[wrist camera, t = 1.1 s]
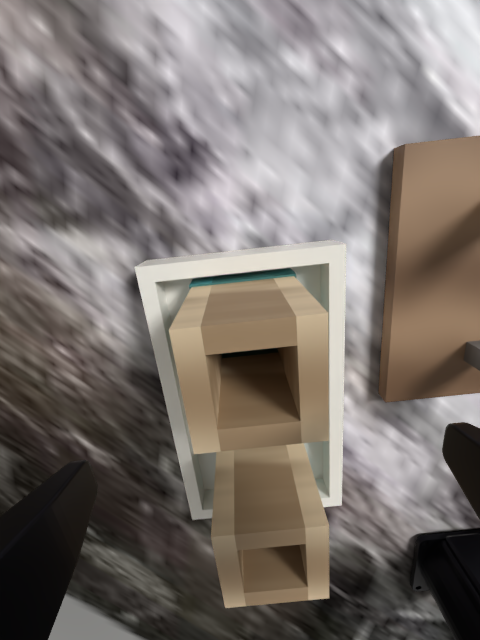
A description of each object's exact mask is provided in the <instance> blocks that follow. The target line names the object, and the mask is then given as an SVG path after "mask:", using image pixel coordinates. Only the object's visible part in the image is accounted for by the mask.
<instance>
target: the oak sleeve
mask: <svg viewBox="0 0 480 640" xmlns="http://www.w3.org/2000/svg"><path fill="white" fill-rule="evenodd" d="M189 289H190V291H189V293H188V295H187V297H186V298H185V300H184V302H183V304H182V306H181V308H180V310H179V312H178V313H177V315H176V317H175V319H174V321H173V323H172V325H171V327H170V329H169V334H170V339H171V344H172V349H173V354H174V359H175V363H176V368H177V373H178V378H179V383H180V388H181V393H182V398H183V403H184V408H185V413H186V417H187V422H188V427H189V432H190V437H191V442H192V447H193V452H194V454H202V453H212V452H222V451H232V450H242V449H252V448H261V447H271V446H281V445H291V444H301V443H311V442H321V441H329V353H328V312H327V311H326V310H325V309H324V308H323V307H322V306H321V304H320V303H319V302H318V301H317V300H316V299H315V298H314V297H313V296H312V295H311V294H310V293H309V292H308V291H307V289H306V288H305V287H304V286H303V285H302V284H301V283H300V282H299V281H298V280H297V279H296V273H295V272H294V271H293V270H292V269H291V268H287V269H278V270H269V271H260V272H251V273H242V274H233V275H223V276H214V277H205V278H196V279H192V281H191V283H190V285H189Z"/></svg>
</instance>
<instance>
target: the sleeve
mask: <svg viewBox="0 0 480 640" xmlns="http://www.w3.org/2000/svg"><path fill="white" fill-rule="evenodd" d="M211 540H212V545H213V550H214V555H215V560H216V565H217V570H218V575H219V579H220V584H221V589H222V594H223V599H224V604H225V608H230V607H241V606H252V605H263V604H273V603H284V602H295V601H305V600H316V599H327V598H329V524H328V521H327V517H326V514H325V511H324V508H323V504H322V501H321V498H320V494H319V491H318V488H317V485H316V481H315V478H314V475H313V472H312V468H311V465H310V462H309V459H308V455H307V452H306V449H305V445H304V443H301V444H291V445H281V446H271V447H261V448H252V449H242V450H232V451H222V452H216V467H215V482H214V497H213V512H212V528H211Z"/></svg>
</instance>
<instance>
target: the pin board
mask: <svg viewBox="0 0 480 640" xmlns="http://www.w3.org/2000/svg"><path fill="white" fill-rule="evenodd" d="M378 393H379V395H380V396H381V397H382V398H383V400H384V401H385V402H394V401H404V400H413V399H423V398H433V397H443V396H452V395H462V394H472V393H480V136H472V137H464V138H455V139H446V140H438V141H429V142H420V143H411V144H404V145H402V146H399V147H397V148H394V157H393V173H392V188H391V204H390V219H389V234H388V250H387V265H386V281H385V296H384V312H383V327H382V343H381V358H380V374H379V389H378Z"/></svg>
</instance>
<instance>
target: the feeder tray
mask: <svg viewBox="0 0 480 640" xmlns="http://www.w3.org/2000/svg"><path fill="white" fill-rule="evenodd" d="M287 268H291V269H292V270H293V271H294V272H295V273H296V279H297V280H298V281H299V282H300V283H301V284H302V285H303V286H304V287H305V288H306V289H307V291H308V292H309V293H310V294H311V295H312V296H313V297H314V298H315V299H316V300H317V301H318V302H319V303H320V304H321V306H322V307H323V308H324V309H325V310H326V311H327V312H328V353H329V441H321V442H311V443H304V445H305V449H306V452H307V455H308V459H309V462H310V465H311V468H312V472H313V475H314V478H315V481H316V485H317V488H318V491H319V494H320V498H321V501H322V504H323V507H329V506H339V505H342V460H343V403H344V346H345V289H346V244H345V243H341V242H338V241H335V240H326V241H317V242H308V243H299V244H290V245H281V246H272V247H263V248H254V249H244V250H235V251H226V252H217V253H208V254H199V255H190V256H181V257H172V258H163V259H154V260H146V261H145V262H143V263H141V264H139V265H138V266H136V267H135V271H136V276H137V280H138V285H139V289H140V293H141V298H142V302H143V306H144V311H145V315H146V320H147V324H148V328H149V333H150V337H151V341H152V346H153V350H154V355H155V359H156V363H157V368H158V372H159V376H160V381H161V385H162V390H163V394H164V398H165V403H166V407H167V411H168V416H169V420H170V425H171V429H172V433H173V438H174V442H175V446H176V451H177V455H178V460H179V464H180V468H181V473H182V477H183V481H184V486H185V490H186V495H187V499H188V503H189V508H190V512H191V516H192V520H197V519H207V518H212V512H213V497H214V482H215V467H216V452H212V453H202V454H194V452H193V447H192V442H191V437H190V432H189V427H188V422H187V417H186V413H185V408H184V403H183V398H182V393H181V388H180V383H179V378H178V373H177V368H176V363H175V359H174V354H173V349H172V344H171V339H170V334H169V329H170V327H171V325H172V323H173V321H174V319H175V317H176V315H177V313H178V312H179V310H180V308H181V306H182V304H183V302H184V300H185V298H186V297H187V295H188V293H189V291H190V289H189V285H190V283H191V281H192V279H196V278H205V277H214V276H223V275H233V274H242V273H251V272H260V271H269V270H278V269H287Z"/></svg>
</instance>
